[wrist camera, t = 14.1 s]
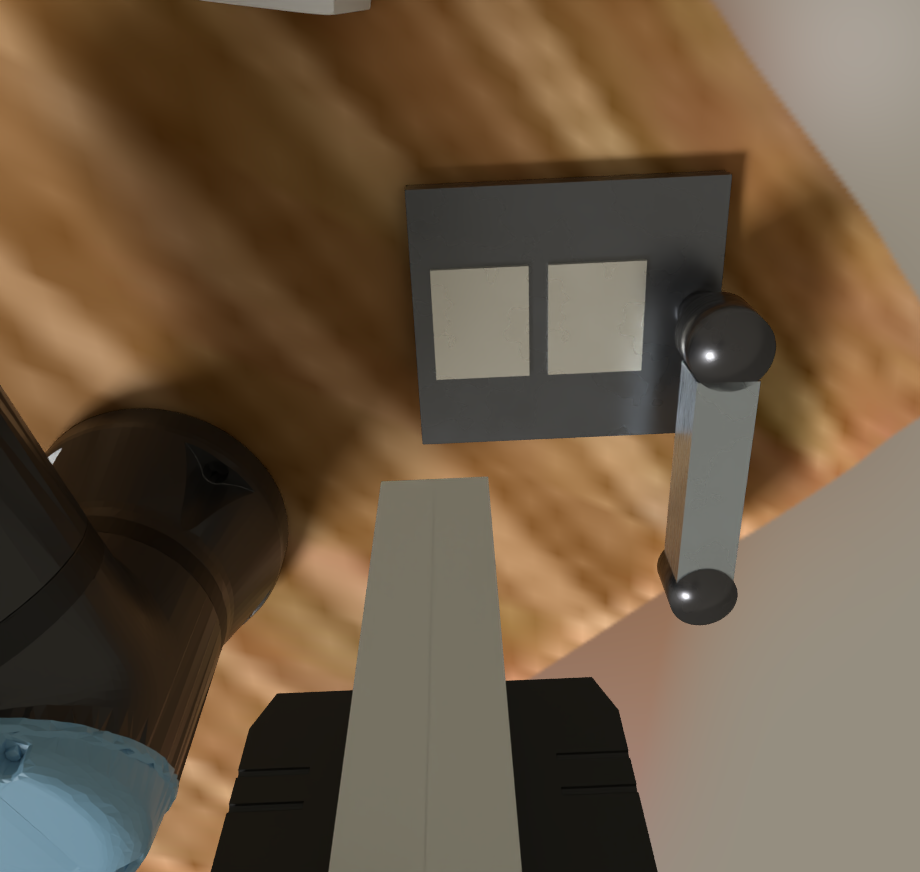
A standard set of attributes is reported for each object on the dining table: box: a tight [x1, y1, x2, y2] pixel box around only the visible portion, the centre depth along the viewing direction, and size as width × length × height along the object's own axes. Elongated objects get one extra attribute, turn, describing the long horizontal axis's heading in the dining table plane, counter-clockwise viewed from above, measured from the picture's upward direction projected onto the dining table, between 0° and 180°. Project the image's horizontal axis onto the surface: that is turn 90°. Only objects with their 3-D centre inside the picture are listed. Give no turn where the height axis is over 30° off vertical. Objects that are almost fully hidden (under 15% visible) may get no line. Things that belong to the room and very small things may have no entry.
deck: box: [405, 170, 732, 444], centre depth 45 cm, size 16×14×4 cm
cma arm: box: [657, 292, 776, 625], centre depth 45 cm, size 18×4×3 cm, turn 2°
